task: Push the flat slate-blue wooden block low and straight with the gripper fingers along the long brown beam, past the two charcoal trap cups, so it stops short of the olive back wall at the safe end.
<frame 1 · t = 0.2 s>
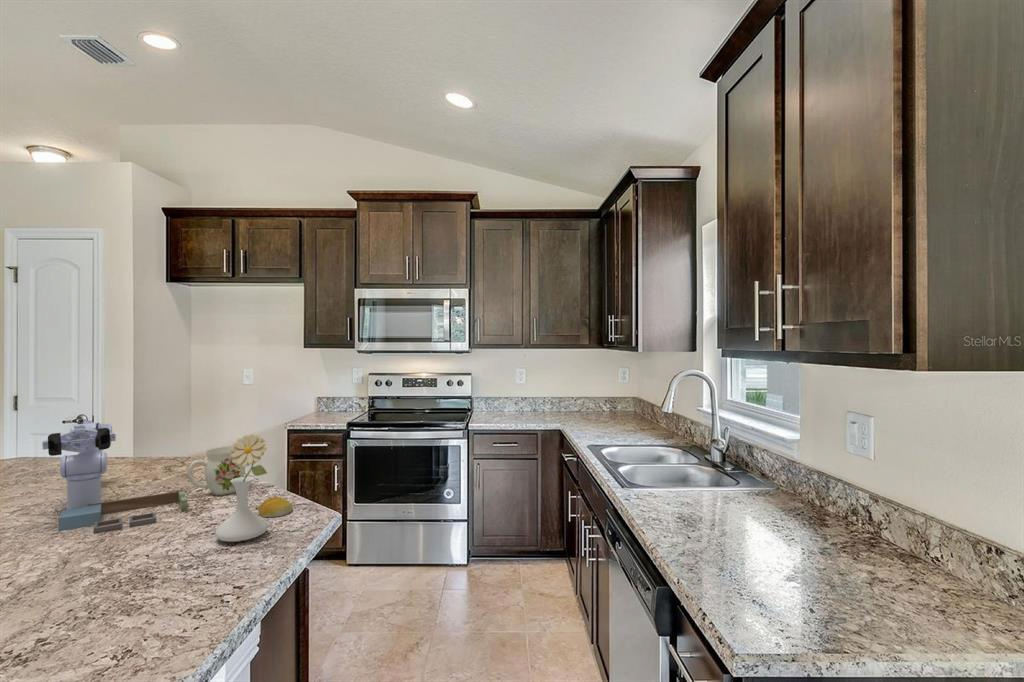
hand: (77, 445, 126), 21 cm above the countertop, tool horizontal, fingers open, 7 cm apart
trap cups: (125, 524, 130), on the countertop
flower in vase: (244, 538, 121), on the countertop
pitcher: (221, 493, 158), on the countertop
slate block: (80, 524, 131), on the countertop
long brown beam: (129, 515, 137), on the countertop
bread roll: (275, 513, 139), on the countertop
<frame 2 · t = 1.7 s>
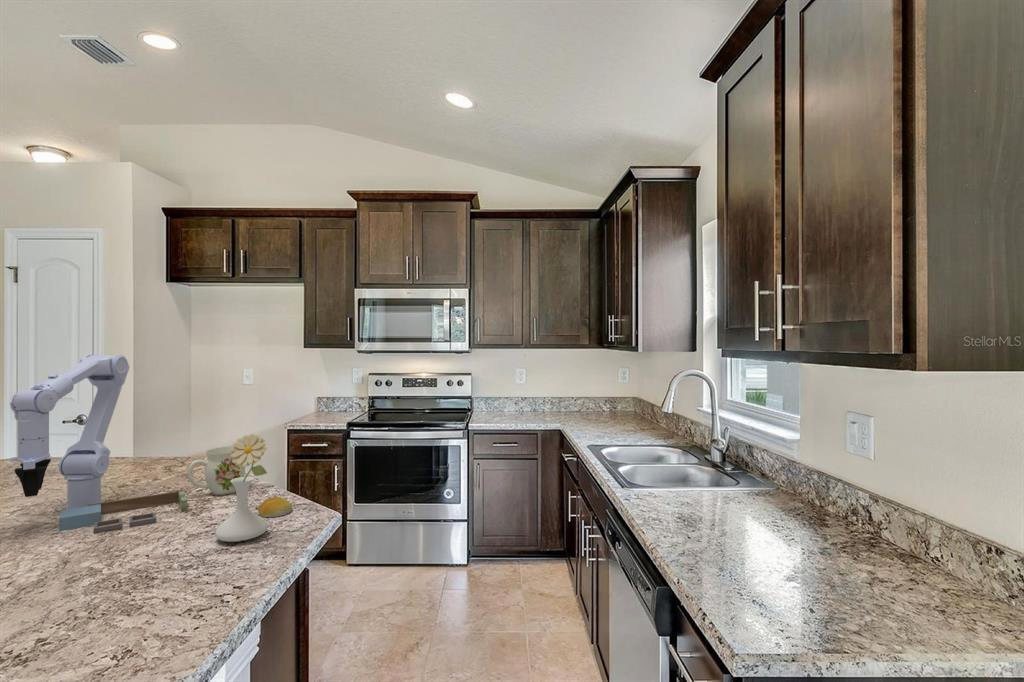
hand: (33, 492, 126), 9 cm above the countertop, tool pointing down, fingers open, 6 cm apart
nothing on the countertop moved.
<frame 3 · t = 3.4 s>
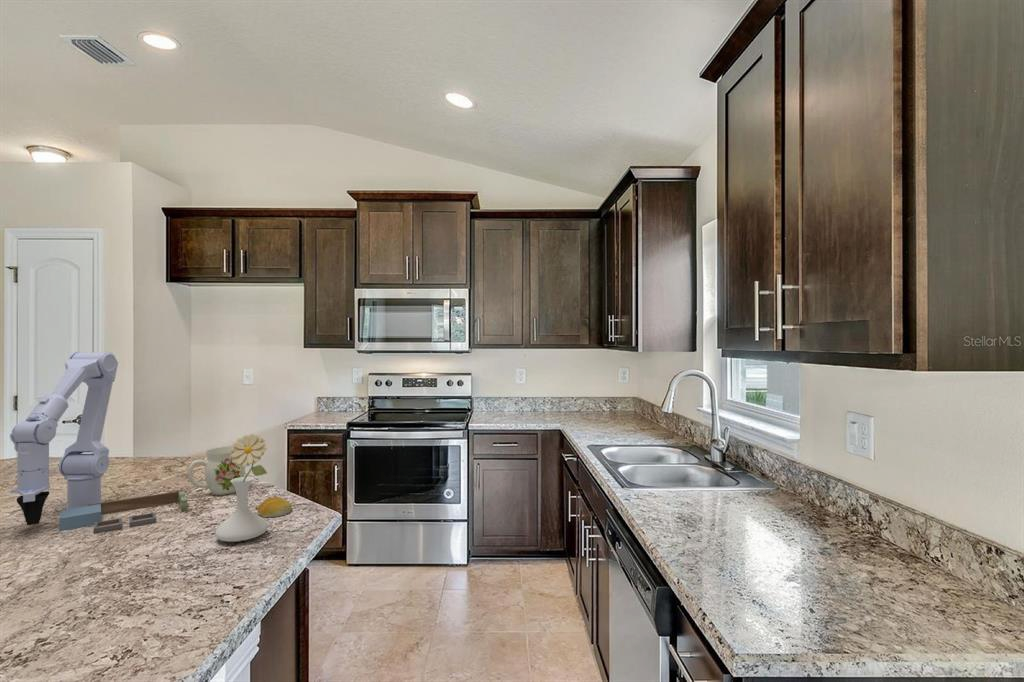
hand: (33, 523, 126), 2 cm above the countertop, tool pointing down, fingers closed
nothing on the countertop moved.
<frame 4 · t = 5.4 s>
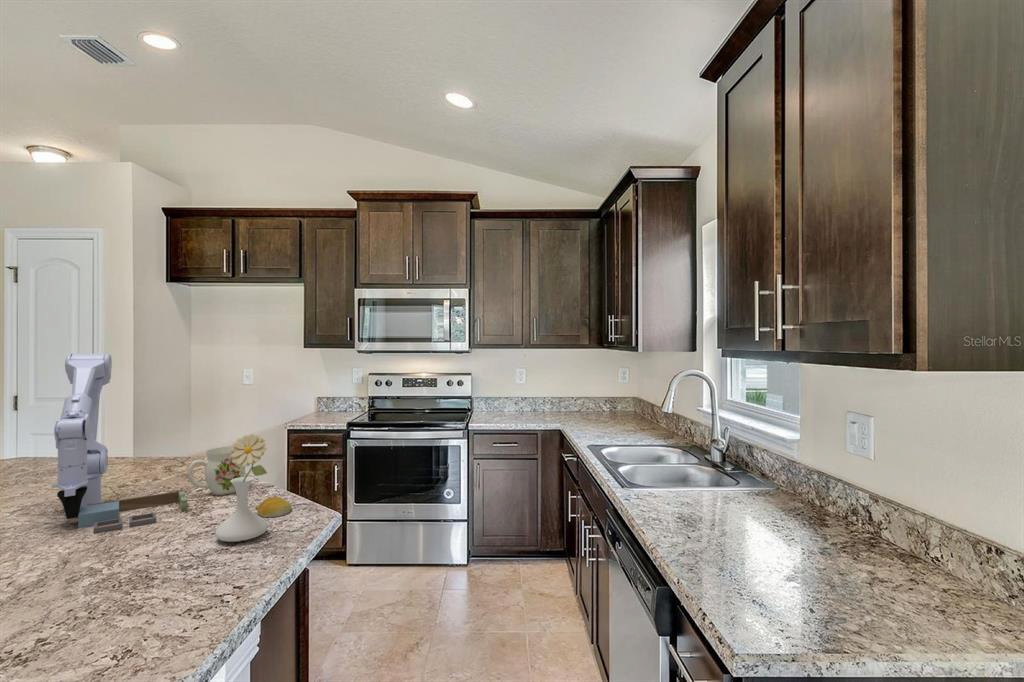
hand: (72, 517, 130), 2 cm above the countertop, tool pointing down, fingers closed
slate block: (99, 521, 133), on the countertop, touching gripper
everything else where it was.
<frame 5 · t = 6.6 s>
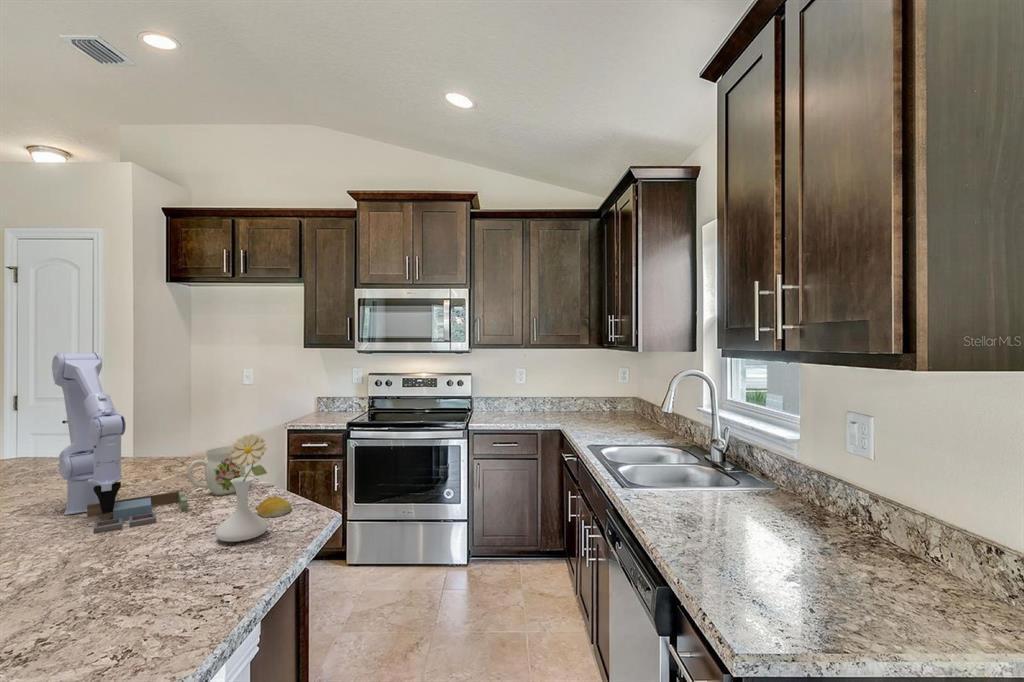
hand: (107, 512, 134), 2 cm above the countertop, tool pointing down, fingers closed
slate block: (132, 516, 137), on the countertop, touching gripper
everything else where it was.
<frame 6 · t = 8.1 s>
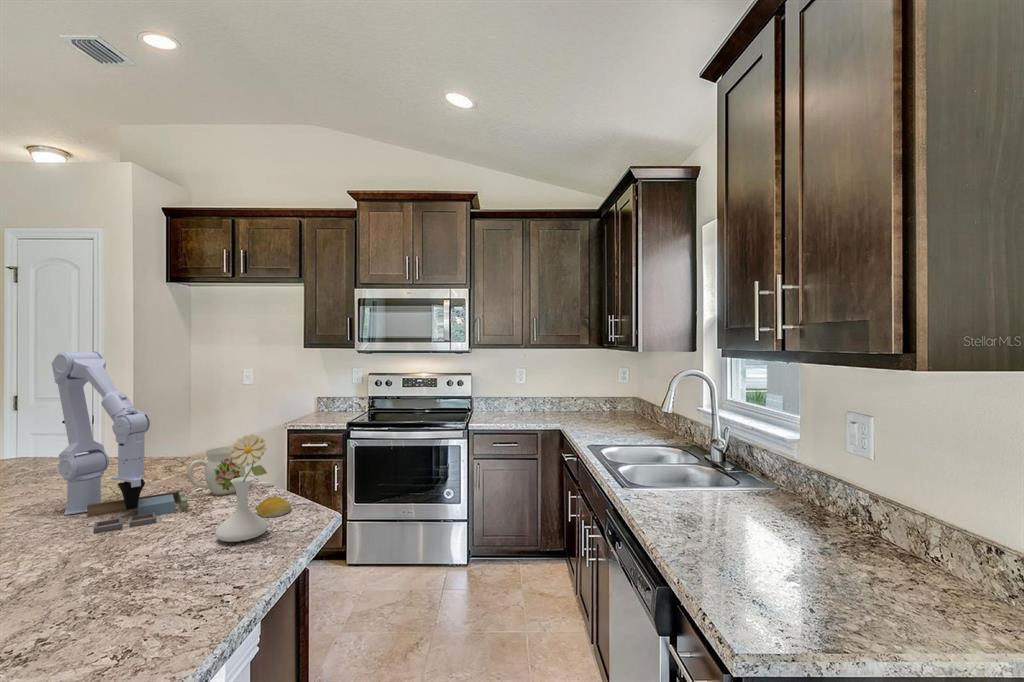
hand: (131, 508, 138), 2 cm above the countertop, tool pointing down, fingers closed
slate block: (156, 512, 140), on the countertop, touching gripper
everything else where it was.
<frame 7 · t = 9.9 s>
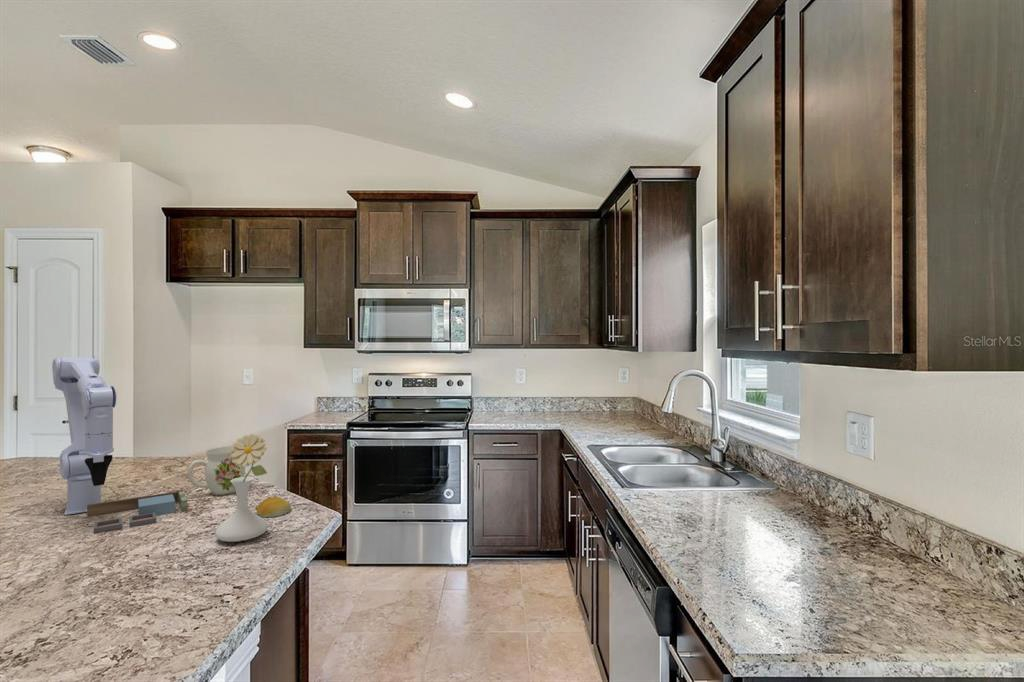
hand: (98, 484, 133), 9 cm above the countertop, tool pointing down, fingers closed
slate block: (156, 512, 140), on the countertop
everything else where it was.
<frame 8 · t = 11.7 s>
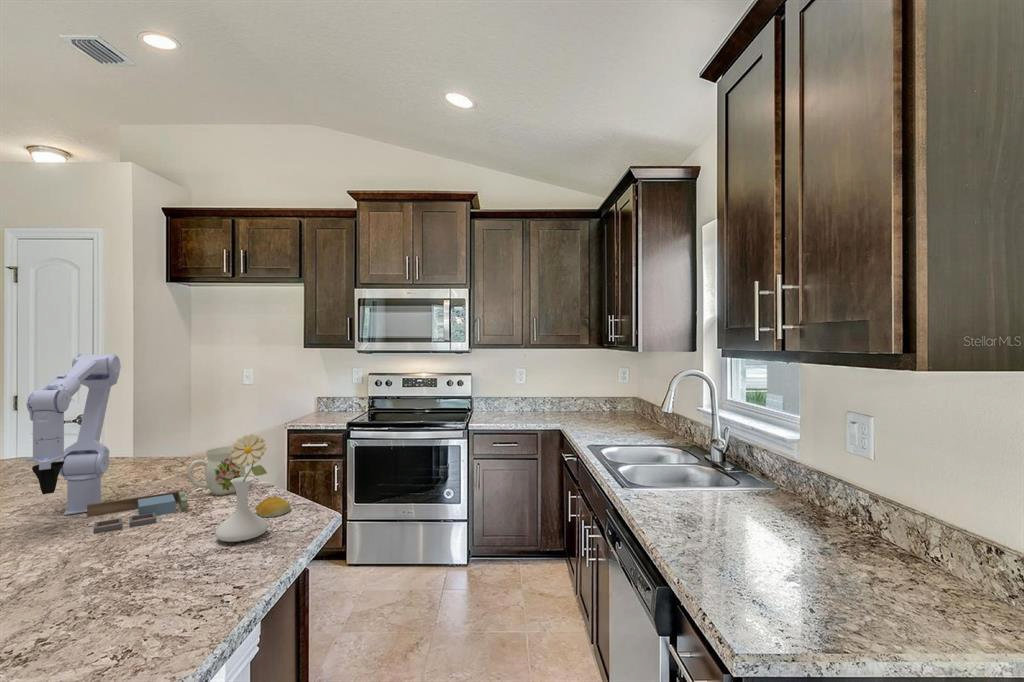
hand: (48, 493, 126), 9 cm above the countertop, tool pointing down, fingers closed
nothing on the countertop moved.
at the end: slate block inside the target area (0.9 cm from its centre), on the countertop; slate block touching countertop; slate block tilted 0° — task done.
